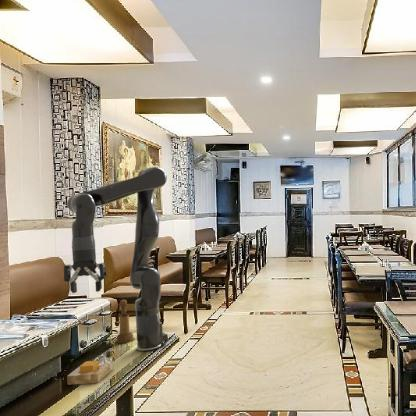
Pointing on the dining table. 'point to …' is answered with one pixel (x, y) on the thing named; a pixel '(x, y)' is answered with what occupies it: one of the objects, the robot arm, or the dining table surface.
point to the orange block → (89, 366)
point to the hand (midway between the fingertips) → (86, 291)
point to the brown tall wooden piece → (124, 325)
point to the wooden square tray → (88, 375)
